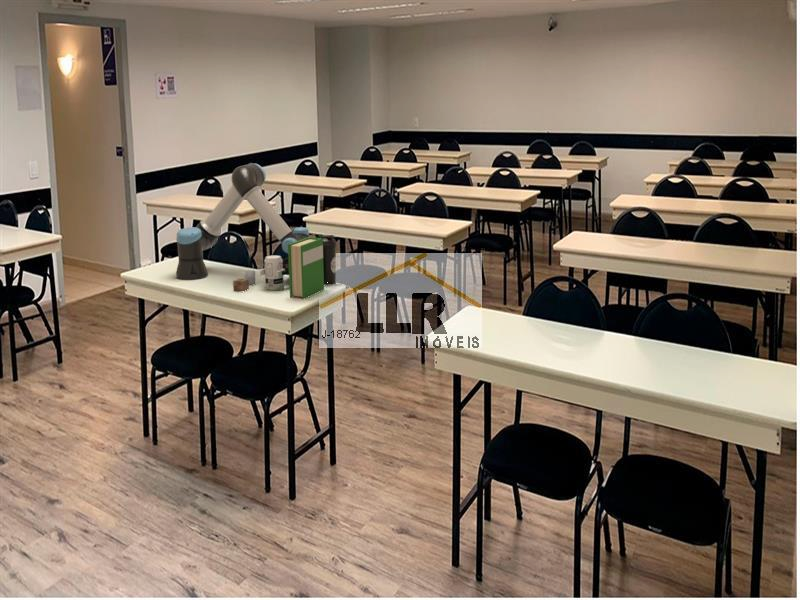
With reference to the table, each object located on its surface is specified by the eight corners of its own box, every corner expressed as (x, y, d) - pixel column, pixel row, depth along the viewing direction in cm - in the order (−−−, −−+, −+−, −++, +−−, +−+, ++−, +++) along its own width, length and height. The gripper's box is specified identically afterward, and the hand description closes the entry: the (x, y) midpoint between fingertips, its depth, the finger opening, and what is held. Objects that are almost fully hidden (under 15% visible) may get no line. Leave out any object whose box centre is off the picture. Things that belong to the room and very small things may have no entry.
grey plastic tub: (242, 284, 351) (242, 272, 349) (248, 282, 355) (247, 270, 354) (252, 285, 349) (251, 273, 348) (257, 283, 354) (257, 271, 352)
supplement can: (266, 286, 348) (265, 255, 344) (284, 286, 349) (282, 254, 345) (265, 290, 340) (263, 259, 336) (283, 290, 341) (281, 258, 337)
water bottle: (334, 286, 349) (332, 237, 343) (313, 284, 351) (311, 237, 345) (339, 280, 359) (338, 233, 352) (319, 279, 361) (318, 233, 354)
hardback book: (304, 298, 328) (302, 245, 321) (289, 297, 330) (287, 244, 324) (324, 289, 343) (322, 238, 337) (310, 287, 346) (308, 237, 339)
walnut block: (233, 291, 340) (233, 280, 339) (239, 288, 345) (239, 278, 344) (243, 292, 339) (242, 281, 337) (248, 289, 343) (248, 279, 342)
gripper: (312, 272, 356) (289, 284, 336) (274, 269, 363) (249, 279, 343) (311, 257, 354) (288, 267, 334) (273, 254, 361) (248, 264, 341)
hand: (268, 273), depth 338 cm, fingers closed on supplement can, 8 cm apart
